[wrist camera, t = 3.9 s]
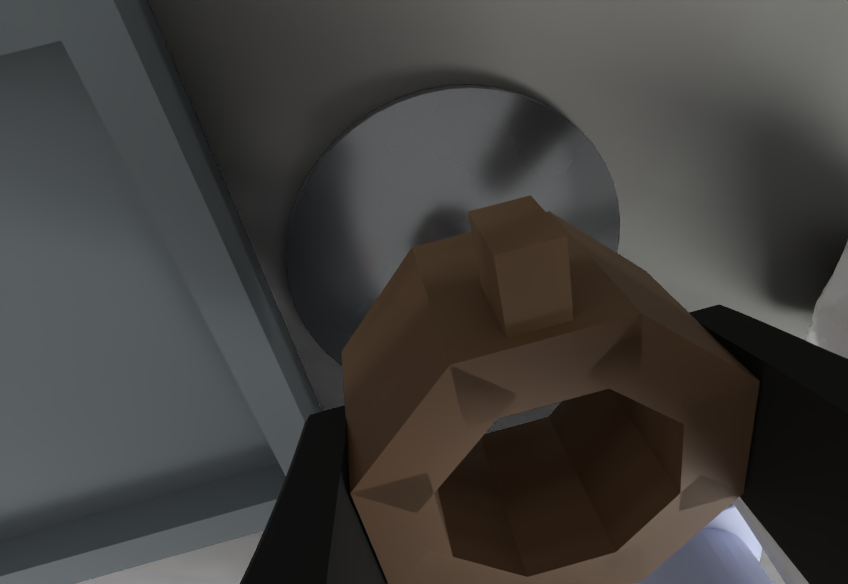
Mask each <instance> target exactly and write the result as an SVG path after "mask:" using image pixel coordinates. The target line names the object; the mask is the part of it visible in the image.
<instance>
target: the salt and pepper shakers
mask: <svg viewBox="0 0 848 584" xmlns="http://www.w3.org/2000/svg"><path fill="white" fill-rule="evenodd" d="M805 339H806V341H807V342H810V343H812V344H814V345H816V346H819V347H821V348H823V349H826V350H828V351H830V352H833V353H835V354H837V355H840V356H842V357H845V358H847V359H848V241H847V243H846V245H845V249H844V251H843V253H842V255H841V258H840V260H839V262H838V264H837V266H836V268H835V271H834V273H833V275H832V276H831V278H830V280H829V282H828V283H827V285H826V286H825V288H824V289H823V291H822V294H821V296H820V297H819V298H818V300H817V302H816V305H815V308H814V313H813V315H812V317H811V324H810V326H809V329H808V331H807V332H806V338H805ZM733 504H734V505H735V507H736V508H737V510H738V511H739V513H740V514H741V516H742V517H743V518H744V520H745V521H746V523H747V525H748V526H749V528H750V529H751V531H752V532H753V534H754V535H755V537H756V539H757V540H758V542H759V543H760V545H761V546H762V548H763V549H764V551H765V552H766V554H767V555H768V557H769V559H770V560H771V562H772V563H773V565H774V566H775V568H776V569H777V571H778V572H779V574H780V575H781V577H782V578H783V580H784V581H785V583H786V584H809V583H808V582H807V580H806V579H805V578H804V577H803V575H802V574H801V573H800V572H799V570H798V569H797V568H796V567H795V565H794V564H793V563H792V562H791V560H790V559H789V558H788V557H787V555H786V554H785V553H784V552H783V550H782V549H781V548H780V547H779V545H778V544H777V543H776V542H775V540H774V539H773V538H772V537H771V535H770V534H769V533H768V532H767V530H766V529H765V528H764V527H763V525H762V524H761V523H760V522H759V521H758V519H757V518H756V517H755V516H754V514H753V513H752V512H751V511H750V509H749V508H748V507H747V506H746V504H745V503H744V502H743V500H742V499H741V498H740V497H738V498H737V499H736V500H735V501H734V502H733Z"/></svg>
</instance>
